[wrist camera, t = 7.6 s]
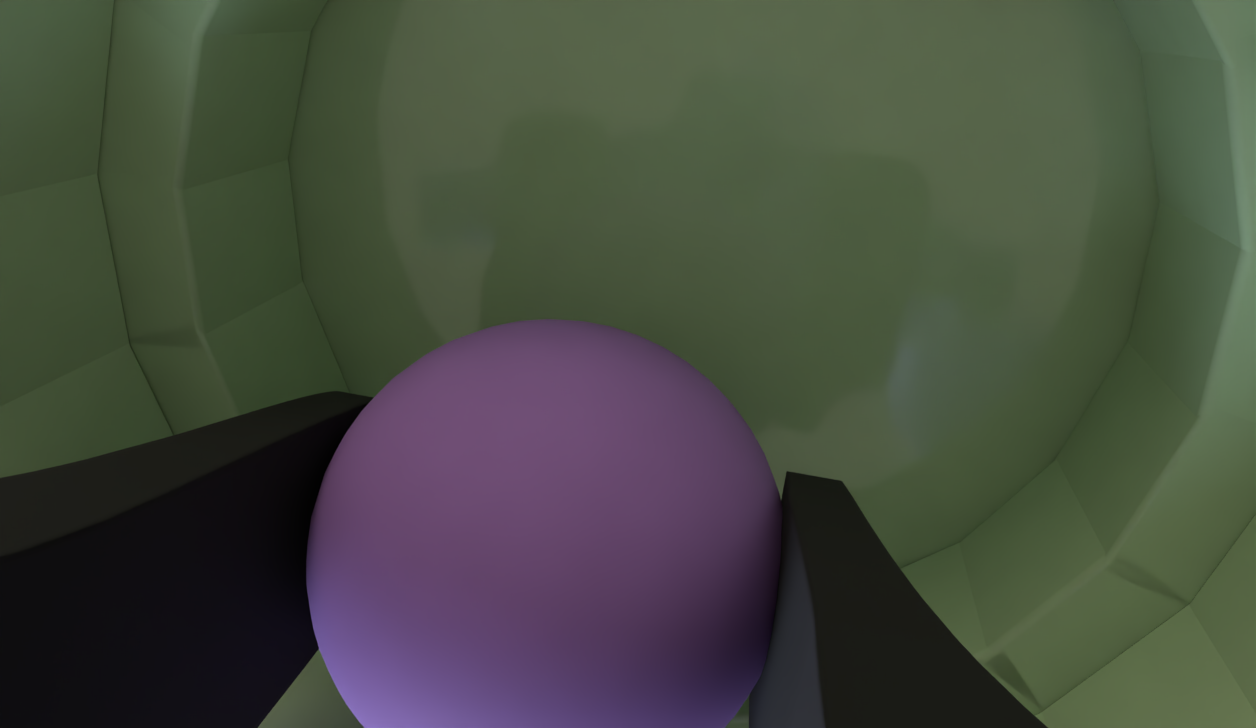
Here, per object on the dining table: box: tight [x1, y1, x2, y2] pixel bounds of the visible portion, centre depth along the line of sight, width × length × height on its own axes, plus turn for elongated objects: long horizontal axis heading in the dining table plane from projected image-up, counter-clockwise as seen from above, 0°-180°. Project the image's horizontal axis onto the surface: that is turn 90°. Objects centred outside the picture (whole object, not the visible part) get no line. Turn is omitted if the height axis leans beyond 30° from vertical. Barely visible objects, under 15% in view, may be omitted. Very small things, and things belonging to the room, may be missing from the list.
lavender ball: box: [306, 319, 783, 728], centre depth 10 cm, size 5×5×5 cm
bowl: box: [0, 0, 1256, 728], centre depth 10 cm, size 14×14×6 cm
